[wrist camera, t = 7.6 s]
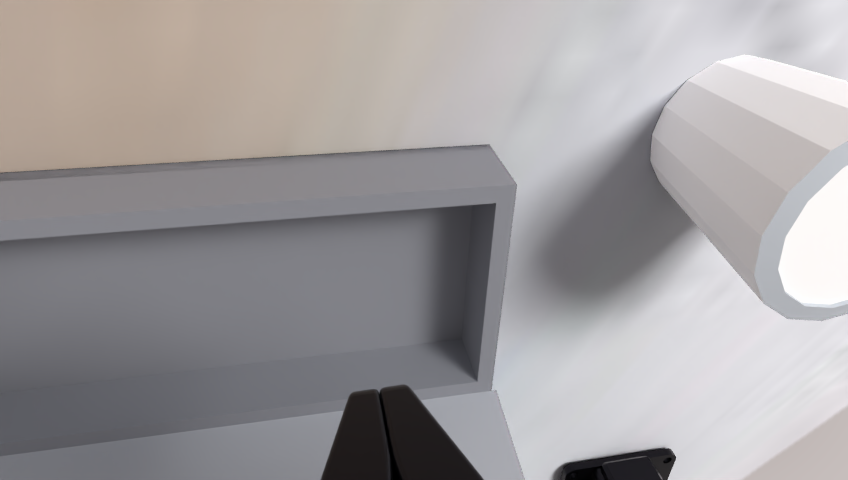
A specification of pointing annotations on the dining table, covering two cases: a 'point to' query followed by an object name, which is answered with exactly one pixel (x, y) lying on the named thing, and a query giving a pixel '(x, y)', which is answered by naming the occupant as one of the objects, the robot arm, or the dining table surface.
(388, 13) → the dining table surface
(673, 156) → the shot glass
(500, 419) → the lid flap
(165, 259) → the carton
